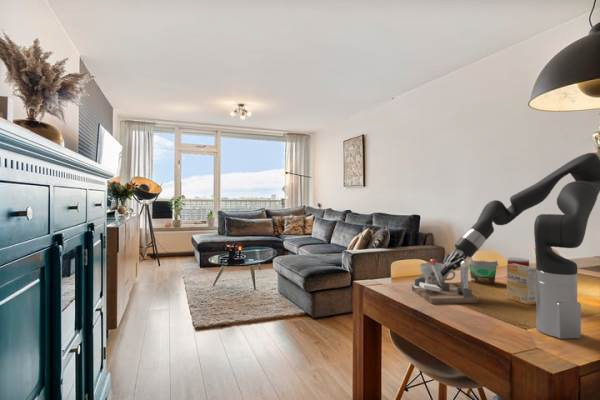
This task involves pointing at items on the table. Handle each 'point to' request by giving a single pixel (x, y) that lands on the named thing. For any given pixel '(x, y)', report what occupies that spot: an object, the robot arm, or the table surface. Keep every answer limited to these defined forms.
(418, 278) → the button
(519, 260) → the canned food
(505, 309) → the table surface
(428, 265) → the teacup
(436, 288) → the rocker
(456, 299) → the panel
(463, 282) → the grey metal bar
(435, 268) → the red toggle
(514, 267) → the supplement box
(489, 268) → the food container
